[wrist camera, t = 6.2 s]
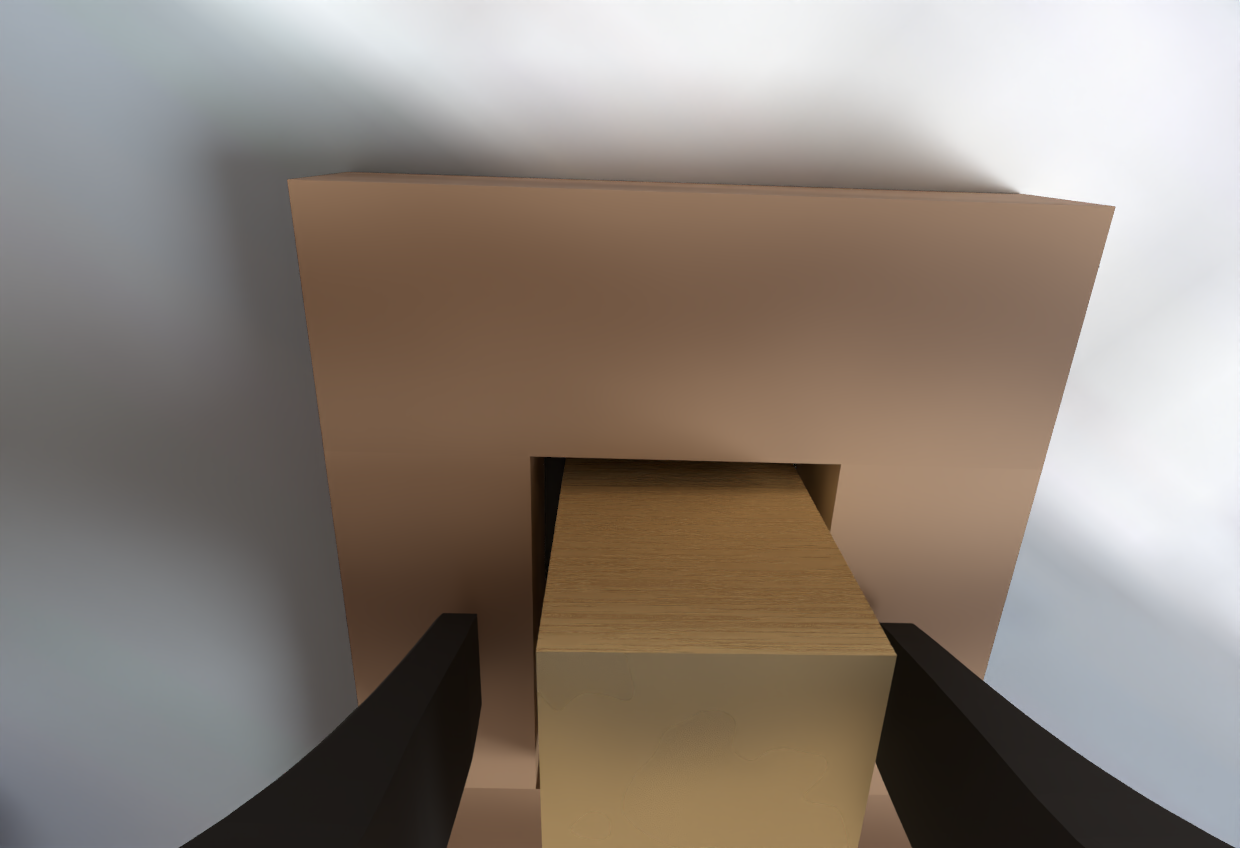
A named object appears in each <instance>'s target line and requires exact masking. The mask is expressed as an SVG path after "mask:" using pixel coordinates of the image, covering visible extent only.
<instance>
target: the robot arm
mask: <svg viewBox="0 0 1240 848" xmlns="http://www.w3.org/2000/svg"><path fill="white" fill-rule="evenodd" d="M879 624H880V625H881V627H882V629H883V631H884V633H885V635H886V636H887V638H888V640H889V642H890V644H891V646H892V648H893V649H894V651H895V653H896V655H897V657H896V662H895V667H894V672H893V677H892V682H891V687H890V692H889V697H888V702H887V707H886V711H885V716H884V721H883V726H882V731H881V736H880V741H879V746H878V751H877V756H876V761H875V762H876V765H877V768H878V770H879V773H880V775H881V777H882V780H883V782H884V785H885V787H886V789H887V792H888V794H889V796H890V799H891V801H892V803H893V806H894V808H895V810H896V813H897V815H898V817H899V819H900V822H901V824H902V826H903V828H904V831H905V833H906V835H907V838H908V840H909V842H910V844H911V847H912V848H1235V847H1233V846H1231V845H1229V844H1227V843H1225V842H1223V841H1221V840H1219V839H1218V838H1216V837H1214V836H1212V835H1210V834H1209V833H1207V832H1205V831H1203V830H1201V829H1200V828H1198V827H1196V826H1194V825H1193V824H1191V823H1189V822H1187V821H1186V820H1184V819H1182V818H1180V817H1179V816H1177V815H1175V814H1173V813H1171V812H1170V811H1168V810H1166V809H1164V808H1163V807H1161V806H1159V805H1158V804H1156V803H1154V802H1153V801H1151V800H1149V799H1148V798H1146V797H1144V796H1143V795H1141V794H1140V793H1138V792H1136V791H1135V790H1133V789H1132V788H1130V787H1129V786H1127V785H1125V784H1124V783H1122V782H1121V781H1119V780H1118V779H1116V778H1115V777H1113V776H1112V775H1110V774H1108V773H1107V772H1105V771H1104V770H1102V769H1101V768H1099V767H1098V766H1096V765H1095V764H1093V763H1092V762H1090V761H1089V760H1087V759H1086V758H1084V757H1083V756H1081V755H1080V754H1078V753H1077V752H1076V751H1074V750H1073V749H1071V748H1070V747H1069V746H1067V745H1066V744H1064V743H1063V742H1062V741H1060V740H1059V739H1058V738H1056V737H1055V736H1054V735H1052V734H1051V733H1049V732H1048V731H1047V730H1045V729H1044V728H1043V727H1041V726H1040V725H1039V724H1037V723H1036V722H1035V721H1033V720H1032V719H1031V718H1029V717H1028V716H1027V715H1025V714H1024V713H1023V712H1022V711H1020V710H1019V709H1018V708H1016V707H1015V706H1014V705H1013V704H1011V703H1010V702H1009V701H1008V700H1006V699H1005V698H1004V697H1003V696H1001V695H1000V694H999V693H998V692H996V691H995V690H994V689H993V688H991V687H990V686H989V685H988V684H986V683H985V682H984V681H983V680H982V679H980V678H979V677H978V676H977V675H976V674H974V673H973V672H972V671H971V670H970V669H968V668H967V667H966V666H965V665H964V664H962V663H961V662H960V661H959V660H958V659H956V658H955V657H954V656H953V655H952V654H950V653H949V652H948V651H947V650H946V649H944V648H943V647H942V646H941V645H940V644H938V643H937V642H936V641H935V640H934V639H932V638H931V637H930V636H929V635H927V634H926V633H925V632H924V631H922V630H921V629H920V628H918V627H917V626H916V625H915V624H913V623H880V622H879ZM481 706H482V697H481V677H480V658H479V639H478V620H477V614H471V613H442V614H441V615H440V616H439V617H438V618H437V619H436V620H435V621H434V622H433V624H432V625H431V626H430V627H429V629H428V630H427V631H426V632H425V633H424V635H423V636H422V637H421V638H420V639H419V641H418V642H417V643H416V644H415V645H414V647H413V648H412V649H411V650H410V651H409V652H408V654H407V655H406V656H405V657H404V658H403V659H402V660H401V662H400V663H399V664H398V665H397V666H396V667H395V668H394V669H393V671H392V672H391V673H390V674H389V675H388V676H387V677H386V678H385V679H384V680H383V681H382V682H381V684H380V685H379V686H378V687H377V688H376V689H375V690H374V691H373V692H372V693H371V694H370V695H369V696H368V697H367V699H366V700H365V701H364V702H362V703H361V704H360V705H359V706H358V707H357V708H356V709H355V710H354V711H353V712H352V713H351V714H350V715H349V716H348V717H347V718H346V719H345V720H344V721H343V722H342V723H341V724H340V725H339V726H338V727H337V728H336V729H335V730H334V731H333V732H332V733H331V734H330V735H329V736H327V737H326V738H325V739H324V740H323V741H322V742H321V743H320V744H319V745H318V746H316V747H315V748H314V749H313V750H312V751H311V752H310V753H308V754H307V755H306V756H305V757H304V758H302V759H301V760H300V761H299V762H298V763H297V764H295V765H294V766H293V767H292V768H291V769H289V770H288V771H287V772H286V773H284V774H283V775H282V776H281V777H279V778H278V779H277V780H276V781H274V782H273V783H272V784H270V785H269V786H268V787H266V788H265V789H264V790H262V791H261V792H260V793H258V794H257V795H255V796H254V797H253V798H251V799H250V800H249V801H247V802H246V803H244V804H243V805H242V806H240V807H239V808H238V809H236V810H235V811H234V812H232V813H231V814H229V815H228V816H227V817H225V818H224V819H222V820H221V821H219V822H218V823H216V824H215V825H213V826H212V827H210V828H209V829H207V830H206V831H204V832H203V833H201V834H200V835H198V836H197V837H195V838H194V839H192V840H190V841H189V842H187V843H186V844H184V845H182V846H181V847H179V848H447V845H448V842H449V839H450V835H451V832H452V828H453V825H454V822H455V818H456V815H457V811H458V808H459V805H460V801H461V798H462V794H463V791H464V787H465V784H466V780H467V777H468V773H469V770H470V766H471V763H472V759H473V753H474V748H475V742H476V736H477V731H478V725H479V718H480V712H481Z"/></svg>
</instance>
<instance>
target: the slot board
mask: <svg viewBox="0 0 1240 848" xmlns="http://www.w3.org/2000/svg"><path fill="white" fill-rule="evenodd" d="M287 182H288V189H289V197H290V204H291V211H292V219H293V226H294V234H295V241H296V248H297V256H298V263H299V271H300V278H301V285H302V293H303V300H304V308H305V315H306V322H307V330H308V337H309V345H310V352H311V359H312V367H313V374H314V382H315V389H316V396H317V404H318V411H319V419H320V426H321V433H322V441H323V448H324V456H325V463H326V470H327V478H328V485H329V492H330V500H331V507H332V515H333V522H334V529H335V537H336V544H337V552H338V559H339V566H340V574H341V581H342V589H343V596H344V603H345V611H346V618H347V626H348V633H349V640H350V648H351V655H352V663H353V670H354V677H355V685H356V692H357V700H358V706H359V705H360V704H361V703H362V702H364V701H365V700H366V699H367V697H368V696H369V695H370V694H371V693H372V692H373V691H374V690H375V689H376V688H377V687H378V686H379V685H380V684H381V682H382V681H383V680H384V679H385V678H386V677H387V676H388V675H389V674H390V673H391V672H392V671H393V669H394V668H395V667H396V666H397V665H398V664H399V663H400V662H401V660H402V659H403V658H404V657H405V656H406V655H407V654H408V652H409V651H410V650H411V649H412V648H413V647H414V645H415V644H416V643H417V642H418V641H419V639H420V638H421V637H422V636H423V635H424V633H425V632H426V631H427V630H428V629H429V627H430V626H431V625H432V624H433V622H434V621H435V620H436V619H437V618H438V617H439V616H440V615H441V614H442V613H471V614H477V620H478V639H479V658H480V677H481V697H482V706H481V712H480V718H479V725H478V731H477V736H476V742H475V748H474V753H473V759H472V763H471V766H470V770H469V773H468V777H467V780H466V784H465V787H464V791H463V794H462V798H461V801H460V805H459V808H458V811H457V815H456V818H455V822H454V825H453V828H452V832H451V835H450V839H449V842H448V845H447V848H542V829H541V797H540V766H539V734H538V703H537V671H536V648H537V641H538V635H539V628H540V622H541V615H542V609H543V602H544V596H545V589H546V579H545V465H544V457H573V458H612V459H651V460H689V461H728V462H767V463H797V468H796V471H797V473H798V475H799V477H800V478H801V480H802V482H803V484H804V486H805V488H806V489H807V491H808V493H809V495H810V497H811V499H812V500H813V502H814V504H815V506H816V508H817V510H818V511H819V513H820V515H821V517H822V519H823V521H824V522H825V524H826V526H827V528H828V530H829V532H830V534H831V535H832V537H833V539H834V541H835V543H836V545H837V546H838V548H839V550H840V552H841V554H842V556H843V557H844V559H845V561H846V563H847V565H848V567H849V568H850V570H851V572H852V574H853V576H854V578H855V579H856V581H857V583H858V585H859V587H860V589H861V591H862V592H863V594H864V596H865V598H866V600H867V602H868V603H869V605H870V607H871V609H872V611H873V613H874V614H875V616H876V618H877V620H878V622H880V623H913V624H915V625H916V626H917V627H918V628H920V629H921V630H922V631H924V632H925V633H926V634H927V635H929V636H930V637H931V638H932V639H934V640H935V641H936V642H937V643H938V644H940V645H941V646H942V647H943V648H944V649H946V650H947V651H948V652H949V653H950V654H952V655H953V656H954V657H955V658H956V659H958V660H959V661H960V662H961V663H962V664H964V665H965V666H966V667H967V668H968V669H970V670H971V671H972V672H973V673H974V674H976V675H977V676H978V677H979V678H980V679H982V680H983V679H984V675H985V672H986V668H987V665H988V661H989V657H990V654H991V650H992V647H993V643H994V639H995V636H996V632H997V629H998V625H999V622H1000V618H1001V614H1002V611H1003V607H1004V604H1005V600H1006V597H1007V593H1008V589H1009V586H1010V582H1011V579H1012V575H1013V572H1014V568H1015V564H1016V561H1017V557H1018V554H1019V550H1020V546H1021V543H1022V539H1023V536H1024V532H1025V529H1026V525H1027V521H1028V518H1029V514H1030V511H1031V507H1032V504H1033V500H1034V496H1035V493H1036V489H1037V486H1038V482H1039V479H1040V475H1041V471H1042V468H1043V464H1044V461H1045V457H1046V453H1047V450H1048V446H1049V443H1050V439H1051V436H1052V432H1053V428H1054V425H1055V421H1056V418H1057V414H1058V411H1059V407H1060V403H1061V400H1062V396H1063V393H1064V389H1065V386H1066V382H1067V378H1068V375H1069V371H1070V368H1071V364H1072V360H1073V357H1074V353H1075V350H1076V346H1077V343H1078V339H1079V335H1080V332H1081V328H1082V325H1083V321H1084V318H1085V314H1086V310H1087V307H1088V303H1089V300H1090V296H1091V292H1092V289H1093V285H1094V282H1095V278H1096V275H1097V271H1098V267H1099V264H1100V260H1101V257H1102V253H1103V250H1104V246H1105V242H1106V239H1107V235H1108V232H1109V228H1110V225H1111V221H1112V217H1113V214H1114V210H1115V206H1107V205H1100V204H1093V203H1085V202H1078V201H1071V200H1063V199H1056V198H1048V197H1041V196H1034V195H1026V194H1003V193H973V192H942V191H912V190H882V189H851V188H821V187H791V186H760V185H730V184H700V183H669V182H639V181H609V180H578V179H548V178H518V177H487V176H457V175H427V174H396V173H366V172H343V173H335V174H327V175H319V176H311V177H303V178H295V179H287ZM858 848H912V847H911V844H910V842H909V840H908V838H907V835H906V833H905V831H904V828H903V826H902V824H901V822H900V819H899V817H898V815H897V813H896V810H895V808H894V806H893V803H892V801H891V799H890V796H889V794H888V792H887V789H886V787H885V785H884V782H883V780H882V777H881V775H880V773H879V770H878V768H877V765H876V762H875V765H874V770H873V775H872V780H871V785H870V790H869V795H868V800H867V805H866V810H865V815H864V819H863V824H862V829H861V834H860V839H859V844H858Z"/></svg>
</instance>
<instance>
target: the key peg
mask: <svg viewBox="0 0 1240 848" xmlns="http://www.w3.org/2000/svg"><path fill="white" fill-rule="evenodd" d="M896 657H897V655H896V653H895V651H894V649H893V648H892V646H891V644H890V642H889V640H888V638H887V636H886V635H885V633H884V631H883V629H882V627H881V625H880V624H879V622H878V620H877V618H876V616H875V614H874V613H873V611H872V609H871V607H870V605H869V603H868V602H867V600H866V598H865V596H864V594H863V592H862V591H861V589H860V587H859V585H858V583H857V581H856V579H855V578H854V576H853V574H852V572H851V570H850V568H849V567H848V565H847V563H846V561H845V559H844V557H843V556H842V554H841V552H840V550H839V548H838V546H837V545H836V543H835V541H834V539H833V537H832V535H831V534H830V532H829V530H828V528H827V526H826V524H825V522H824V521H823V519H822V517H821V515H820V513H819V511H818V510H817V508H816V506H815V504H814V502H813V500H812V499H811V497H810V495H809V493H808V491H807V489H806V488H805V486H804V484H803V482H802V480H801V478H800V477H799V475H798V473H797V471H796V469H795V467H794V465H793V464H792V463H767V462H728V461H689V460H651V459H612V458H573V457H566V460H565V466H564V473H563V479H562V486H561V492H560V499H559V505H558V512H557V518H556V525H555V531H554V538H553V544H552V551H551V557H550V564H549V570H548V576H547V583H546V589H545V596H544V602H543V609H542V615H541V622H540V628H539V635H538V641H537V648H536V671H537V703H538V734H539V766H540V797H541V829H542V848H858V844H859V839H860V834H861V829H862V824H863V819H864V815H865V810H866V805H867V800H868V795H869V790H870V785H871V780H872V775H873V770H874V765H875V761H876V756H877V751H878V746H879V741H880V736H881V731H882V726H883V721H884V716H885V711H886V707H887V702H888V697H889V692H890V687H891V682H892V677H893V672H894V667H895V662H896Z"/></svg>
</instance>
